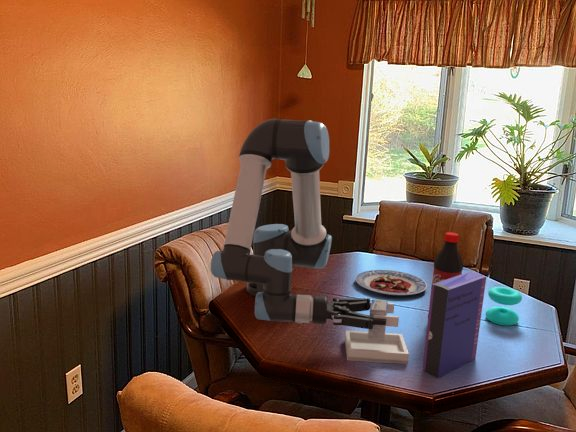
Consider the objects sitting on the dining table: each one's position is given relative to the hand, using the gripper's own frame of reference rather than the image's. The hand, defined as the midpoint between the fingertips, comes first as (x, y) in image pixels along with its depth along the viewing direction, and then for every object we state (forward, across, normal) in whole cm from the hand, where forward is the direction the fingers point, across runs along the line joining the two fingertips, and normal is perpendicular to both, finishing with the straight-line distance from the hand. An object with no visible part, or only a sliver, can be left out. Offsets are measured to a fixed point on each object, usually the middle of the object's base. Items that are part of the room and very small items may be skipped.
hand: (395, 314), depth 152 cm
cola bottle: (+17, -19, -11) cm, 28 cm away
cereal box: (+15, +4, -12) cm, 19 cm away
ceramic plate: (+6, -53, -11) cm, 55 cm away
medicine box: (-5, 0, -6) cm, 8 cm away
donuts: (+38, -28, -11) cm, 49 cm away
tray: (-5, 0, -11) cm, 12 cm away
